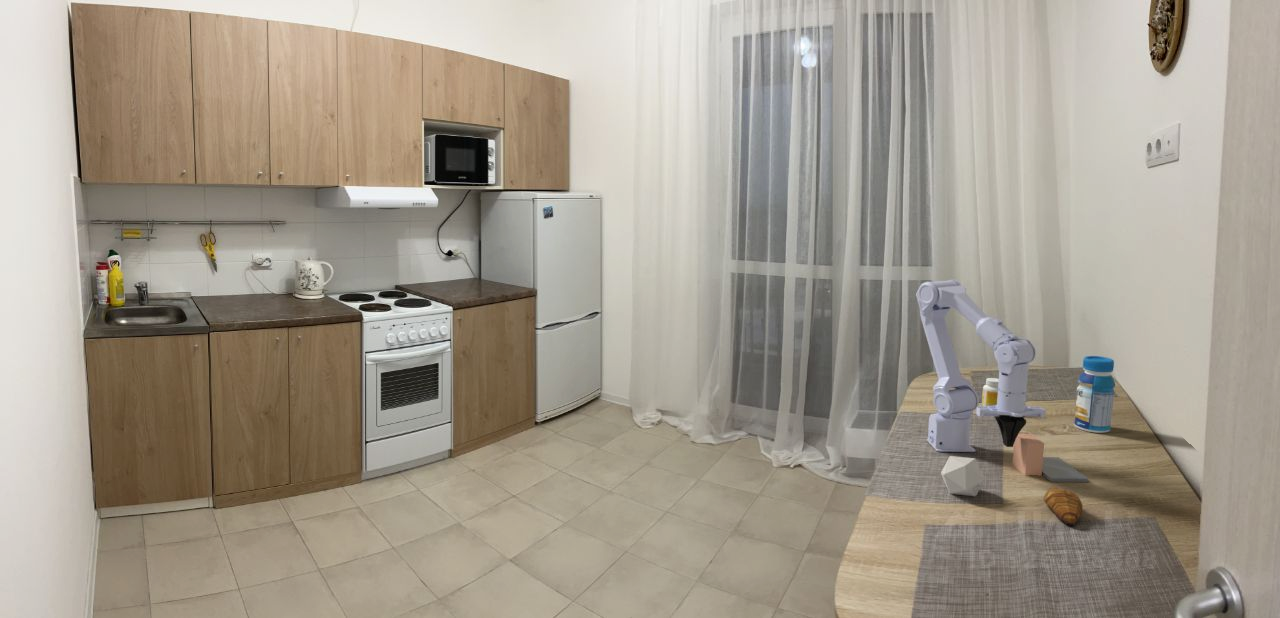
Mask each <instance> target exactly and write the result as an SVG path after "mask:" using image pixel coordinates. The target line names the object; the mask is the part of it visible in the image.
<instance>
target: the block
mask: <svg viewBox="0 0 1280 618" xmlns="http://www.w3.org/2000/svg"><path fill="white" fill-rule="evenodd" d="M1044 449H1045V443H1044V442H1043V441H1042V440H1040V439H1039V438H1037V437H1036V436H1034V435H1033V434H1032V433H1019V434H1018V435H1017V438H1016V440H1015V442H1014V445H1013V453H1012V455H1013V456H1012V465H1013V467H1015V468H1016V469H1017V470H1018V471H1019V472H1020V473H1022V474H1023V476H1025V475H1028V477H1030V476H1029V475H1038V476H1037V477H1041V476H1043V475H1042V464H1043V457H1044Z"/></svg>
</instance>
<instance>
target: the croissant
mask: <svg viewBox="0 0 1280 618" xmlns="http://www.w3.org/2000/svg"><path fill="white" fill-rule="evenodd" d="M1043 497H1044V498H1043V501H1044V503H1045V504H1046V506H1047V508H1048V509H1049V510H1050V511H1051V513H1053V514H1054V516H1055V517H1056V518H1057V519H1058V520H1060V522H1062V523H1064V524H1065V525H1068V526H1075V524H1076V523H1077V521H1078V520H1079V518H1080V517H1081V515H1082V512H1081V511H1082V510H1083V503H1082V501H1081V498H1080V497H1079V495H1077V494H1076V493H1074V492H1072V491H1068V490H1066V489H1063V488H1049V489H1048V491H1046V493H1045V495H1044V496H1043Z"/></svg>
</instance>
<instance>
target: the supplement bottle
mask: <svg viewBox="0 0 1280 618" xmlns="http://www.w3.org/2000/svg"><path fill="white" fill-rule="evenodd" d="M998 383H999V378H995V377H987V378H985V384H984V385H983V387H982V395H981V396H982V397H981V407H985V406H993V405H997V397H998Z"/></svg>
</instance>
